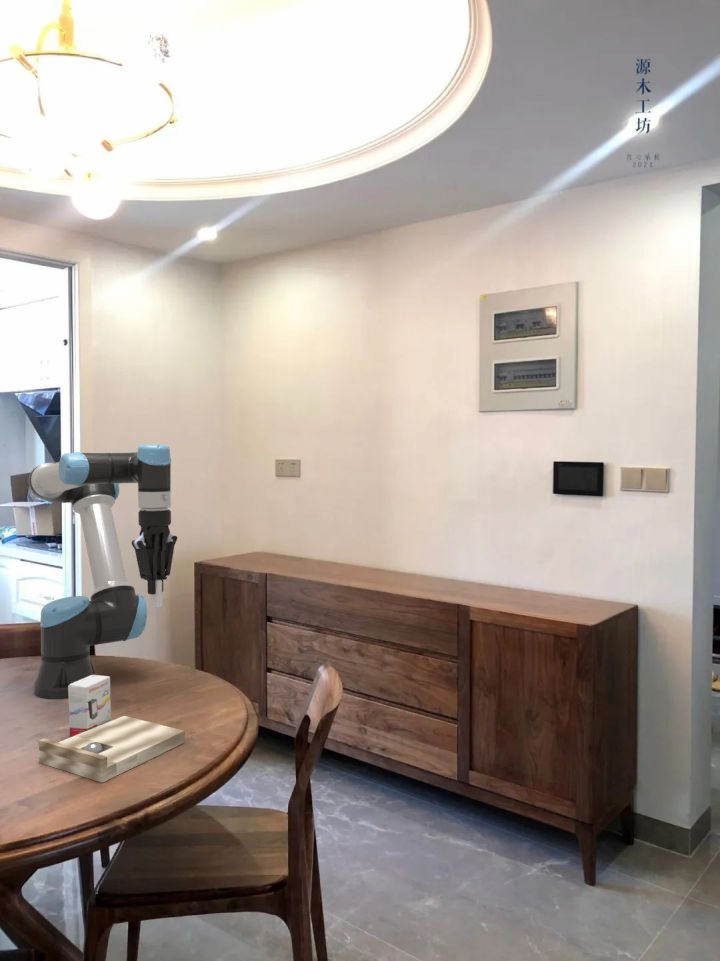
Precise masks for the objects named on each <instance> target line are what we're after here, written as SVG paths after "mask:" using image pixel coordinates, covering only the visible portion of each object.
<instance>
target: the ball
mask: <svg viewBox="0 0 720 961" xmlns="http://www.w3.org/2000/svg"><path fill="white" fill-rule="evenodd" d="M84 750H86V751H89V752H93V753H96V754H99V753H101V752H103V749H102V746H101V745H100V744H99V743H97V742H92V743H89V744H88V745H87V746H86V747H85V749H84Z"/></svg>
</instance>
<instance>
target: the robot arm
mask: <svg viewBox="0 0 720 961" xmlns="http://www.w3.org/2000/svg"><path fill="white" fill-rule="evenodd" d="M171 464H172V459H171V449H170V447H169V445H166V444H140V445H139V446H138V447H137V451H136V452H79V451H78V452H77V451H76V452H71V453H69V452H68V453H64V454H62V455H61V456H60V459H59V461H57V462H45V463H42V464H38V465H37V466H35V468H33V469H32V470H31V472H30V473H29V476H28V479H27V480H28V481H27V482H28V487H29V490H30V491H31V493H32V494H33V495H34V496H36V497H37V498H38V499H40V500H42V501H45V502H48V503H49V502H50V503H55V504H62V503H63V504H64V503H68V504H71V505H72V510H73V512H74V513H77V514H79V515H80V516H79V517H80V520H81V528H82V532H83V537H84V541H85V546H86V547H85V548H86V551H87V556H88V561H89V567H90V572H91V576H92V582H93V587H94V591H93V592H92V594H91V595H90V599H89V597H88V596H86V595H75V596H67V597H63V598H58V599H56V600H52V601H50V602H48V603H46V604H45V605H44V606H43V607H42V608H41V610H40V611H41V612H40V622H39V626H40V653H41V654H40V656H41V657H40V658H41V663H40V665H39V669H38V672H37V675H36V679H35V682H34V687H33V688H34V690H33V692H34V695H35V696H37V697H40V698H44V699H66V698H68V699H69V697H68V686H69V685H70V684H71V683H74V682H76V681H79V680H81V679H83V678H86V677H88V676H90V675H97V674H96V672H95V668H94V666H93V663H92V661H91V658H90V647H91V646H97V645H104V644H111V643H117V642H127V641H128V640H133V639H137V638H139V637H140V636H141V635H142V634H143V633H144V631H145V629H146V624H147V618H148V608H147V607H148V606H147V605H149V608H153V609H159V608H162V607H163V592H164V581H165V580H166V581H167V579H168V576H170V574H171V568H172V563H173V559H174V558H173V557H174V552H175V545H176V544H177V543H176V542H177V540H178V537H177V535H173V534H172V533H171V530H170V527H169V526H170V525H171V524H172V511H171V510H170V509H169V508H171V505H172V502H171V499H172V498H171V487H172V486H171V484H172V482H171V479H172V478H171V477H172V476H171V475H172V474H171V472H172V471H171V469H172V468H171ZM120 484H137V487H138V488H137V492H138V493H137V496H138V500H137V501H138V505H137V507H138V508H139V509H140V510H138V511H137V512H138V525H139V527H140V531H139V537H137V539H136V540H135V539H134V540H132V541H131V545H132V547H133V548H134V549H133V550H134V553H135V557H136V564H137V567H138V572H139V576H140V579H142V580H144V581H147V594H148V595H149V599H148V602H149V603H148V604H147V601H146V599H145V596H143V595H142V594H136V591H135V587H134V586H133V585H132V584H130V583H129V582H128V581H127V576H126V571H125V568H124V567H125V566H124V562H123V557H122V552H121V549H120V543H119V538H118V534H117V533H118V532H117V529H116V526H115V521H114V520H115V519H114V516H113V512H112V508H113V506H114V505H115V503H116V500H117V499H118V497H119V495H120V486H119V485H120Z"/></svg>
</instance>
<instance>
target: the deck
mask: <svg viewBox="0 0 720 961" xmlns="http://www.w3.org/2000/svg"><path fill="white" fill-rule="evenodd" d="M185 732H186V731H185V730H182V729H178V728H174V727H171V726H167V725H162V724H159V723H155V722H151V721H146V720H142V719H140V718H134V717H130V716H126V715H123V716H120V717H118V718H115V719H111V721H110V722H107V723H105V724H103V725H100V726H98V727H95V728H93V729H90V730H88V731H85V732H83V733H80V734H78V735H75V736H73V737H70V736H69V737H68V738H66V739H63V740H61V741H59V742H58V741H54V740H51V739H48V738H41V739H39V740H38V762H39V763H40V764H43V765H46V766H49V767H51V768H56V769H58V770H61V771H65V772H68V773H71V774H73V775H77V776H80V777H84V778H87V779H90V780H92V781H95V782H99V783H105V782H107V781H109V780H111V779H113V778H115V777H117V776H118V775H121V774H123V773H125V772H127V771H129V770H131V769H133V768H135V767H137V766H140V765H141V764H144V763H145V762H149V760H151V759H154V758H155V757H158V756H160V755H162V754H165V753H166V752H168V751H170V750H172V749H174V748H176V747H178V746H180V745H182V744H185V742H186V739H185V736H186V735H185ZM92 742H97V743H99V744H100V745H101V746H102V749H103V752H101V753H99V754H96V753H93V752H89V751H86V750H84V749H85V747H86V746H87V745H88V744H89V743H92Z"/></svg>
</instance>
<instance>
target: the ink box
mask: <svg viewBox="0 0 720 961" xmlns="http://www.w3.org/2000/svg"><path fill="white" fill-rule="evenodd" d="M111 704H112V701H111V676H107V675H98V674H96V675H90V676H88V677H86V678H83V679H81V680H79V681H76V682H74V683H71V684H70V685H69V686H68V723H69V725H68V726H69V727H68V728H69V738H70V737H73V736H75V735H78V734H80V733H83V732H85V731H88V730H90V729H93V728H95V727H98V726H100V725H103V724H105V723H107V722H110V721H112V710H111V708H112V705H111Z"/></svg>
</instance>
